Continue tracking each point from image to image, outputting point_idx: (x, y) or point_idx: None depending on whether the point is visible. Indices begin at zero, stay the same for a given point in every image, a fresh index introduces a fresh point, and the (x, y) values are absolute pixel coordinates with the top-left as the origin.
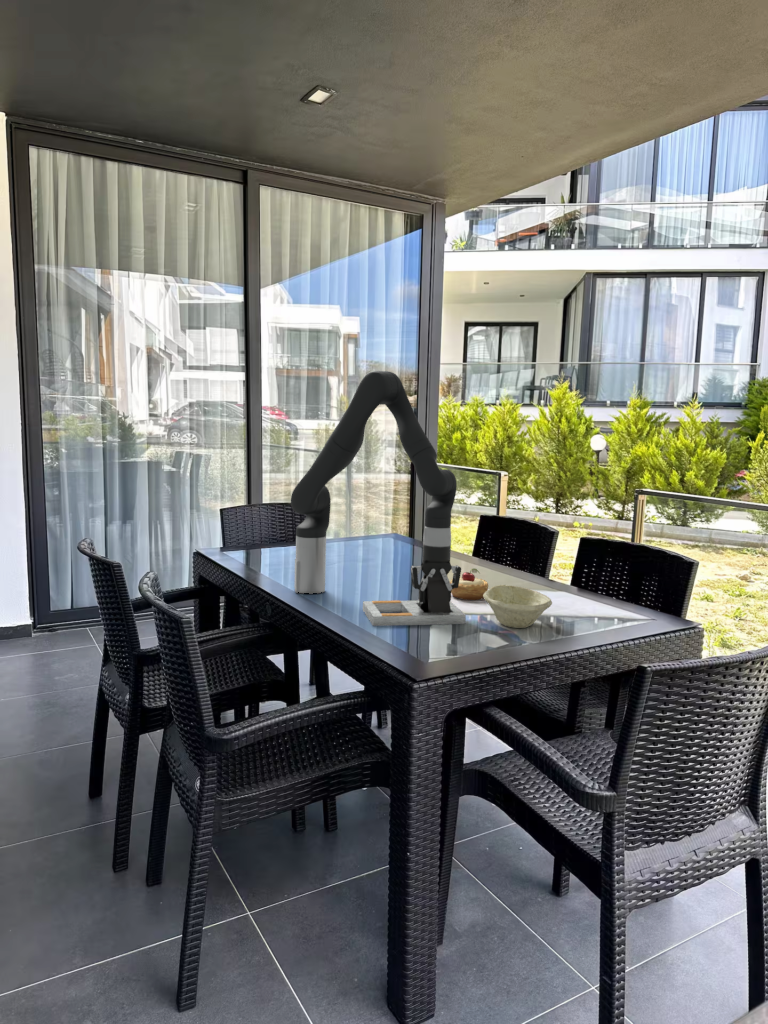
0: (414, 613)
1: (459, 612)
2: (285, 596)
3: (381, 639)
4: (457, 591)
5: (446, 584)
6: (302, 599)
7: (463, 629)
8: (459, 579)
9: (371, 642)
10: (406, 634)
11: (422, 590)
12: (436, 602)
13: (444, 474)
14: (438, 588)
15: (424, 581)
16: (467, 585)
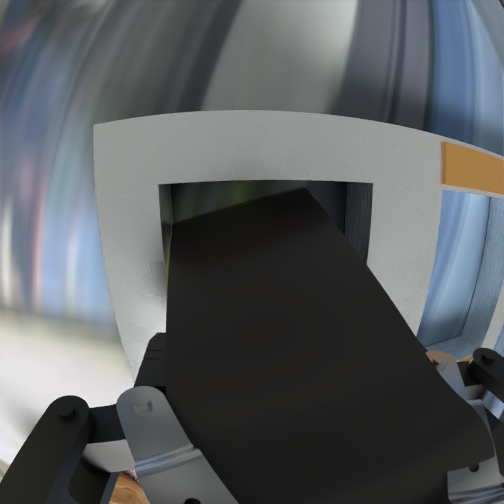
0: (428, 180)
1: (120, 181)
2: (499, 407)
3: (487, 30)
4: (124, 489)
5: (181, 445)
6: (495, 400)
7: (165, 30)
8: (13, 460)
9: (499, 24)
10: (438, 31)
11: (431, 354)
12: (295, 266)
13: None
14: (293, 391)
15: (476, 406)
16: None
